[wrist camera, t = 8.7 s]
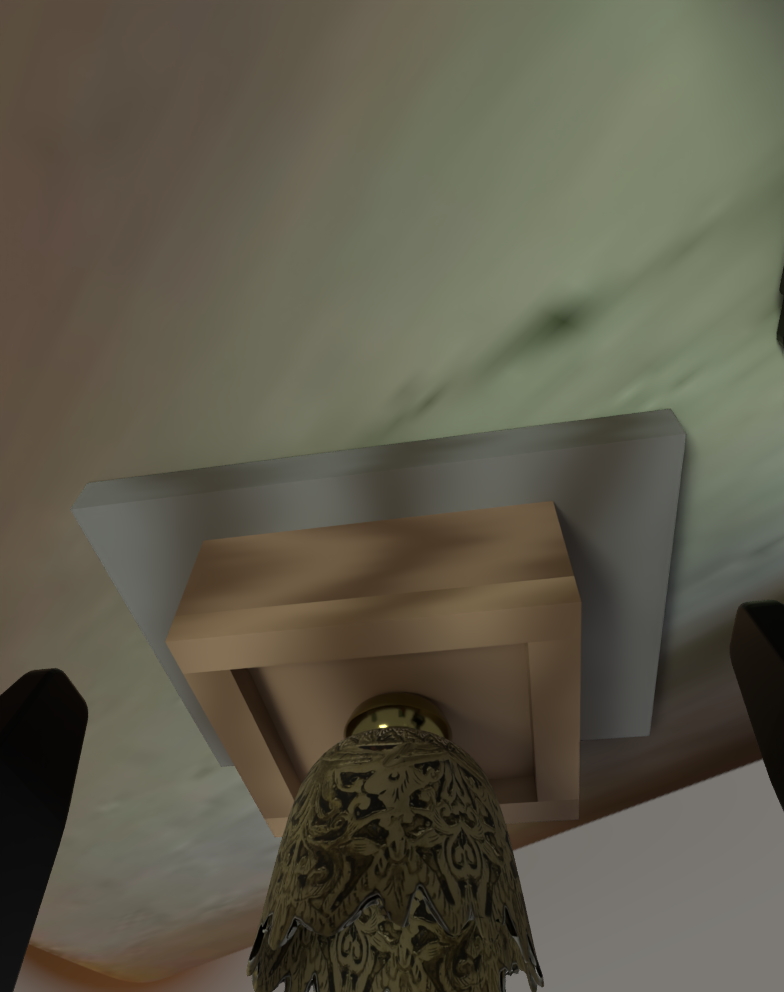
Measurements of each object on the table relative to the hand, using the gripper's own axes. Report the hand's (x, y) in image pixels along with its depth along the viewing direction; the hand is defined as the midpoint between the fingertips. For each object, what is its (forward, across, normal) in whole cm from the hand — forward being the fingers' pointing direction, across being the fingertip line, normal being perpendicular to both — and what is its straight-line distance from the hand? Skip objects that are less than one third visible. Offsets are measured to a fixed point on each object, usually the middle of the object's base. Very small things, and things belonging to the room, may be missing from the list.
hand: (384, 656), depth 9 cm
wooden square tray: (+13, +2, +13) cm, 18 cm away
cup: (+8, +2, +13) cm, 15 cm away
